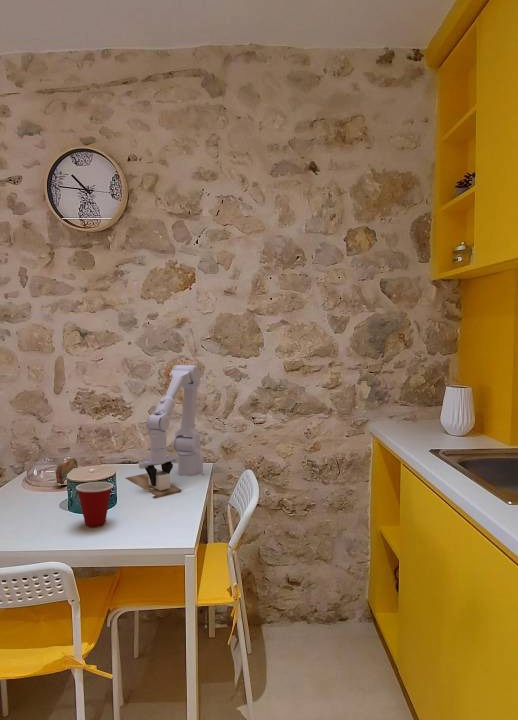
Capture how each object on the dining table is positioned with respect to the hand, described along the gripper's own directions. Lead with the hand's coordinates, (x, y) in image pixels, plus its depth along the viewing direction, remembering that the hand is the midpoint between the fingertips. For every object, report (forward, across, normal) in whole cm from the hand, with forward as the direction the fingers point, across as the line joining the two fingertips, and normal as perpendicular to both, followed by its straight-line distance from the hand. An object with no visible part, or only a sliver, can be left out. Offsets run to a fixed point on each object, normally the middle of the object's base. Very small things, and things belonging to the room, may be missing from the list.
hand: (159, 484), depth 181 cm
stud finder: (+1, 0, 0) cm, 1 cm away
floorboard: (+2, 0, -6) cm, 6 cm away
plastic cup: (+2, +29, +15) cm, 33 cm away
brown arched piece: (+2, +23, -31) cm, 39 cm away
